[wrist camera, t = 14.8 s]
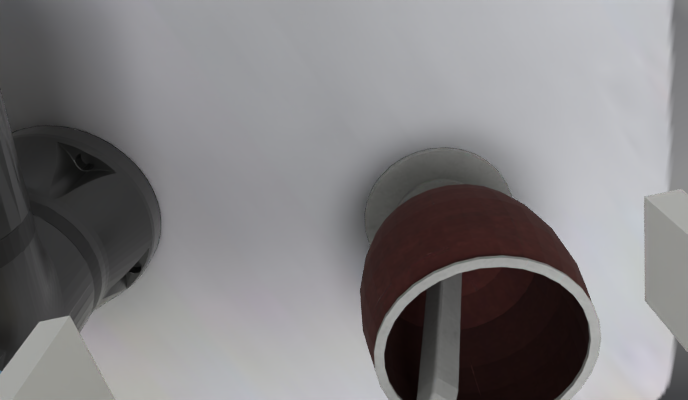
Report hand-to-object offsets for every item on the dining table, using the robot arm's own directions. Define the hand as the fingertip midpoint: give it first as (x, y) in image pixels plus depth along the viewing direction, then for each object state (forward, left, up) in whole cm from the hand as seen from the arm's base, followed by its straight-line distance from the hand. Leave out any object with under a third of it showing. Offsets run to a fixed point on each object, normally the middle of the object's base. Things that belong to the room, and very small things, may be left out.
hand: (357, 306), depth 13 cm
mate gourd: (+4, -16, -32) cm, 36 cm away
